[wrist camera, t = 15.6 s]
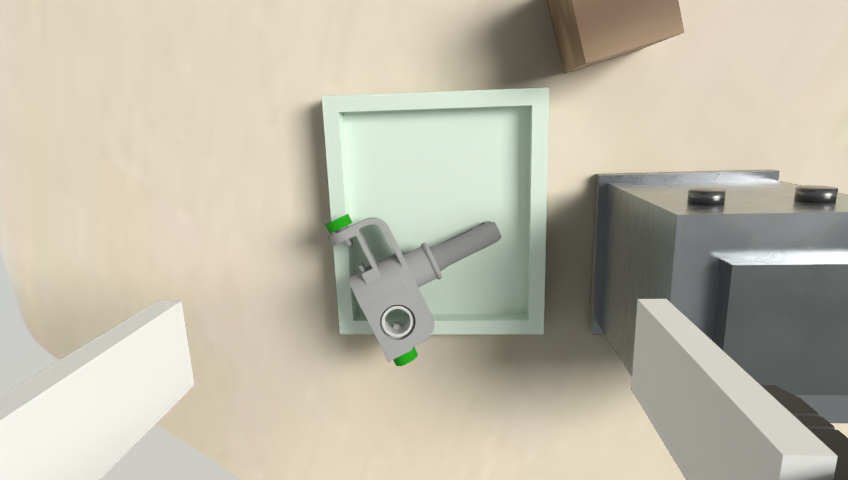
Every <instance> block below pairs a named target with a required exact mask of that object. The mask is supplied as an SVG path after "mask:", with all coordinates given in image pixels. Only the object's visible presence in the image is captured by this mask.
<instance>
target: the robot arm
mask: <svg viewBox="0 0 848 480" xmlns="http://www.w3.org/2000/svg"><path fill="white" fill-rule="evenodd" d="M193 386H194V379H193V373H192V367H191V360H190V354H189V347H188V341H187V334H186V328H185V322H184V315H183V309H182V302H181V301H156V302H154V303H153V304H151V305H149V306H148V307H146V308H145V309H143V310H141V311H140V312H138V313H136V314H135V315H133V316H131V317H130V318H128V319H126V320H125V321H123V322H121V323H120V324H118V325H117V326H115V327H113V328H112V329H110V330H108V331H107V332H105V333H103V334H102V335H100V336H98V337H97V338H95V339H94V340H92V341H90V342H89V343H87V344H85V345H84V346H82V347H80V348H79V349H77V350H75V351H74V352H72V353H70V354H69V355H67V356H66V357H64V358H62V359H61V360H59V361H57V362H56V363H54V364H52V365H51V366H49V367H47V368H46V369H44V370H42V371H41V372H39V373H38V374H36V375H34V376H33V377H31V378H29V379H28V380H26V381H25V382H23V383H21V384H19V385H18V386H16V387H15V388H13V389H11V390H10V391H8V392H6V393H5V394H3V395H1V396H0V480H100V479H101V478H102V477H103V476H104V475H105V474H106V473H107V472H108V471H109V470H110V469H111V468H112V467H113V466H114V465H115V464H116V463H117V462H118V461H119V460H120V459H121V458H122V457H123V456H124V455H125V454H126V453H127V452H128V451H129V450H130V449H131V448H132V447H133V446H134V445H135V444H136V443H137V442H138V441H139V440H140V439H141V438H142V437H143V436H144V435H145V434H146V433H147V432H148V431H149V430H150V429H151V428H152V427H153V426H154V425H155V424H156V423H157V422H158V421H159V420H160V419H161V418H162V417H163V416H164V415H165V414H166V413H167V412H168V411H169V410H170V409H171V408H172V407H173V406H174V405H175V404H176V403H177V402H178V401H179V400H180V399H181V398H182V397H183V396H184V395H185V394H186V393H187V392H188V391H189V390H190V389H191V388H192V387H193ZM631 390H632V391H633V393H634V395H635V396H636V398H637V400H638V401H639V403H640V405H641V406H642V408H643V409H644V411H645V413H646V414H647V416H648V418H649V419H650V421H651V423H652V424H653V426H654V428H655V429H656V431H657V433H658V434H659V436H660V438H661V439H662V441H663V443H664V444H665V446H666V448H667V449H668V451H669V453H670V454H671V456H672V457H673V459H674V461H675V462H676V464H677V466H678V467H679V469H680V471H681V472H682V474H683V476H684V477H685V479H686V480H848V438H847V437H846V436H845V435H843V434H842V433H841V432H840V431H839V430H835V429H834V426H833V425H832V424H830V423H829V422H828V421H827V420H826V419H825V418H823V417H819V413H817V412H816V411H815V410H814V409H813V408H812V407H810V406H809V405H808V404H807V403H806V402H804V401H803V400H802V399H801V398H799V397H797V396H795V395H793V394H791V393H789V392H787V391H785V390H784V389H782V388H780V387H778V386H776V385H760V384H759V383H758V382H756V381H755V380H754V379H753V378H752V377H751V376H750V375H749V374H748V373H747V372H746V371H744V370H743V369H742V368H741V367H740V366H739V365H738V364H737V363H736V362H735V361H734V360H732V359H731V358H730V357H729V356H728V355H727V354H726V353H725V352H724V351H723V350H722V349H721V348H719V347H718V346H717V345H716V344H715V343H714V342H713V341H712V340H711V339H710V338H709V337H707V336H706V335H705V334H704V333H703V332H702V331H701V330H700V329H699V328H698V327H697V326H695V325H694V324H693V323H692V322H691V321H690V320H689V319H688V318H687V317H686V316H685V315H683V314H682V313H681V312H680V311H679V310H678V309H677V308H676V307H675V306H674V305H673V304H671V303H670V302H669V301H668V300H667V299H638V300H637V314H636V328H635V343H634V357H633V371H632V386H631Z"/></svg>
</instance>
